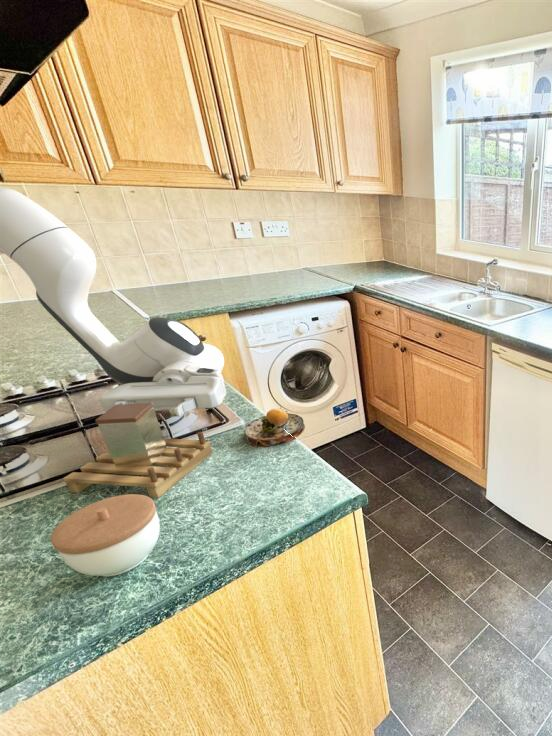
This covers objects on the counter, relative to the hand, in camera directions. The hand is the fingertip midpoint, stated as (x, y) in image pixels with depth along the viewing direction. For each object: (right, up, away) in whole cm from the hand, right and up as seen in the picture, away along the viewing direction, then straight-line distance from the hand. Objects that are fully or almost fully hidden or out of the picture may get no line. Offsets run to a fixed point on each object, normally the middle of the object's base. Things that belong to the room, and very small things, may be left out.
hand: (145, 414), depth 80 cm
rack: (0, -11, 0) cm, 11 cm away
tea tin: (+1, -8, -1) cm, 8 cm away
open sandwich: (+17, -5, +14) cm, 23 cm away
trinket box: (+13, -20, -18) cm, 30 cm away
